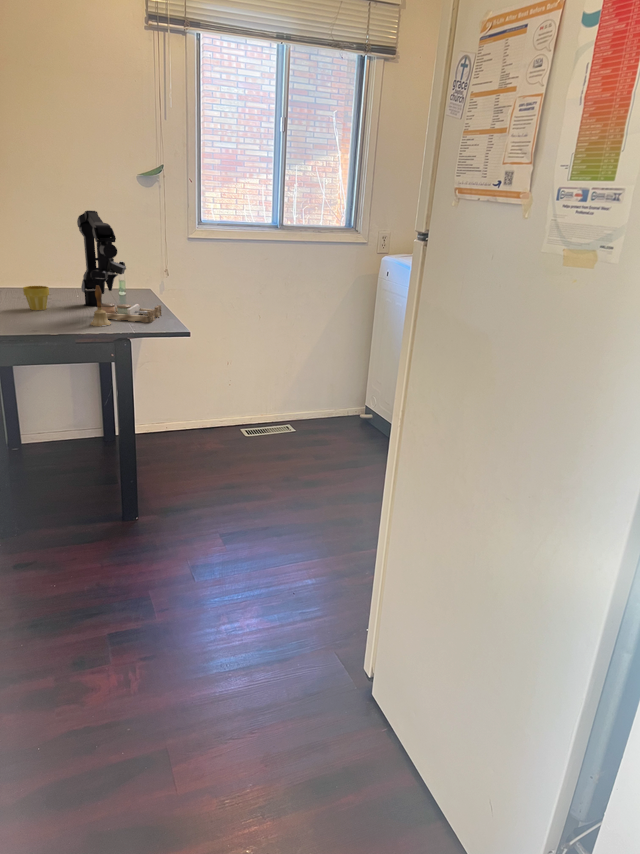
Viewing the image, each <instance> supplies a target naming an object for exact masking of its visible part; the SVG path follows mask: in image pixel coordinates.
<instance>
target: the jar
mask: <svg viewBox="0 0 640 854" xmlns="http://www.w3.org/2000/svg"><path fill="white" fill-rule="evenodd" d="M115 304H116V303H111V302H102V304H101V306H102V310H103V311H105V312H106V313H112V314H116V312H115V307H116V305H115Z"/></svg>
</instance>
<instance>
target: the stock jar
mask: <svg viewBox="0 0 640 854" xmlns="http://www.w3.org/2000/svg"><path fill="white" fill-rule="evenodd" d="M116 307H117V313H116V314H126V315H128V313H127V309H129V308H130V307H132V304H126V303H124V304H123V303H120V304H116Z"/></svg>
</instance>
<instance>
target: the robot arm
mask: <svg viewBox="0 0 640 854" xmlns="http://www.w3.org/2000/svg"><path fill="white" fill-rule="evenodd" d="M76 221H77V222H76V224H77V227H78V230H79V232H80V235H82V237H83V245H84V255H85V269H86V270H85V271H84V274H83V277H82V278H83V279H82V283H81V292H83V293H84V301H85V303H84V304H83V305H84V306H88V307H97V299H96V297H95V289H96V285H99V286H100V289H101V292H102V295H104V294H105V290H106V289H105V287H106V286H107V289H108V291H109V292H112V291H113V285H114V281H115V278H116V277H118V276H119V275H123V274H124V273H125V271H126V270H127V266H126V263H125V261H120V262H116V261H115V259H114V258H115V257H116V256H117V255H118V248H117V246H115V245H114V244H113V243H116V240H117V239H116V238H117V237H116V235H115V232H114V230H113V228H112V226H111V225H110V224H109V223H105V222H104V221H103V220H102V219H101V217H100V216H99V212H98V211H96V210H85V211H84V212H83V213H81V214H80V215H78V218H77V220H76ZM95 242H96V243H95ZM95 245H96V246H95ZM102 301H103V299H102V298H101V304H102V303H103V302H102Z"/></svg>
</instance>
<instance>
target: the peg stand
mask: <svg viewBox="0 0 640 854" xmlns="http://www.w3.org/2000/svg"><path fill="white" fill-rule="evenodd" d="M131 306H132V305H131ZM147 312H148V311H140V304H139V303H136V304H133V306H132V307H130V308H129V309H127V313H128V315H141V314H140V313H143V314H147Z"/></svg>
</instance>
